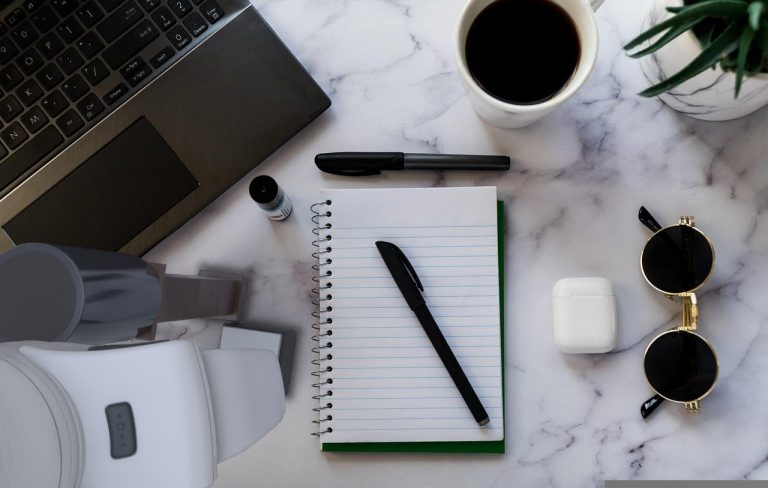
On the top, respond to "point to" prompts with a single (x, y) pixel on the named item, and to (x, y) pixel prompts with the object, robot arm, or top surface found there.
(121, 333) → the grey cylinder
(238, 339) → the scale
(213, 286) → the stand
